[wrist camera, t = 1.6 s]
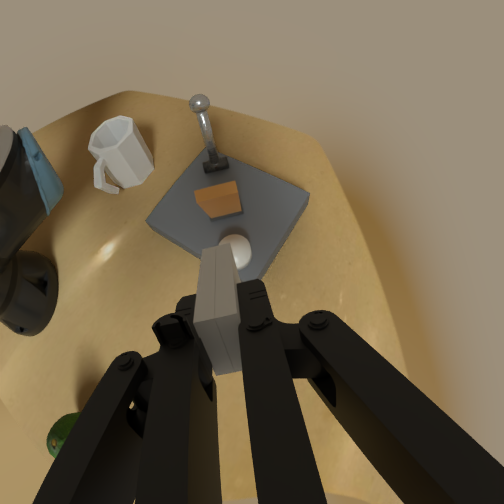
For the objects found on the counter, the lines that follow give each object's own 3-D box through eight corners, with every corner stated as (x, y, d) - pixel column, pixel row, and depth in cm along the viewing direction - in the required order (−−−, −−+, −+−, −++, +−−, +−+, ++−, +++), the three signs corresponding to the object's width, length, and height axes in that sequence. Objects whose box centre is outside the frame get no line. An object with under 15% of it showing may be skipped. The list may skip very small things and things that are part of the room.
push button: (223, 274, 36) (220, 269, 34) (217, 245, 37) (214, 238, 35) (255, 266, 36) (254, 261, 34) (248, 237, 37) (246, 230, 35)
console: (152, 229, 42) (145, 220, 39) (209, 158, 46) (205, 147, 43) (253, 291, 38) (252, 285, 35) (307, 204, 42) (309, 193, 39)
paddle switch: (211, 222, 38) (195, 206, 27) (208, 209, 38) (191, 188, 27) (243, 214, 38) (240, 194, 27) (240, 201, 39) (236, 176, 27)
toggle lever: (206, 178, 40) (182, 102, 30) (204, 167, 42) (182, 95, 32) (230, 171, 40) (212, 94, 31) (227, 161, 42) (210, 88, 32)
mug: (123, 151, 49) (102, 117, 40) (161, 151, 48) (143, 113, 39) (98, 205, 45) (68, 174, 36) (137, 209, 44) (110, 175, 35)
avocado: (134, 441, 31) (86, 463, 20) (105, 465, 29) (57, 487, 18) (99, 399, 33) (45, 404, 22) (73, 425, 32) (21, 434, 20)
